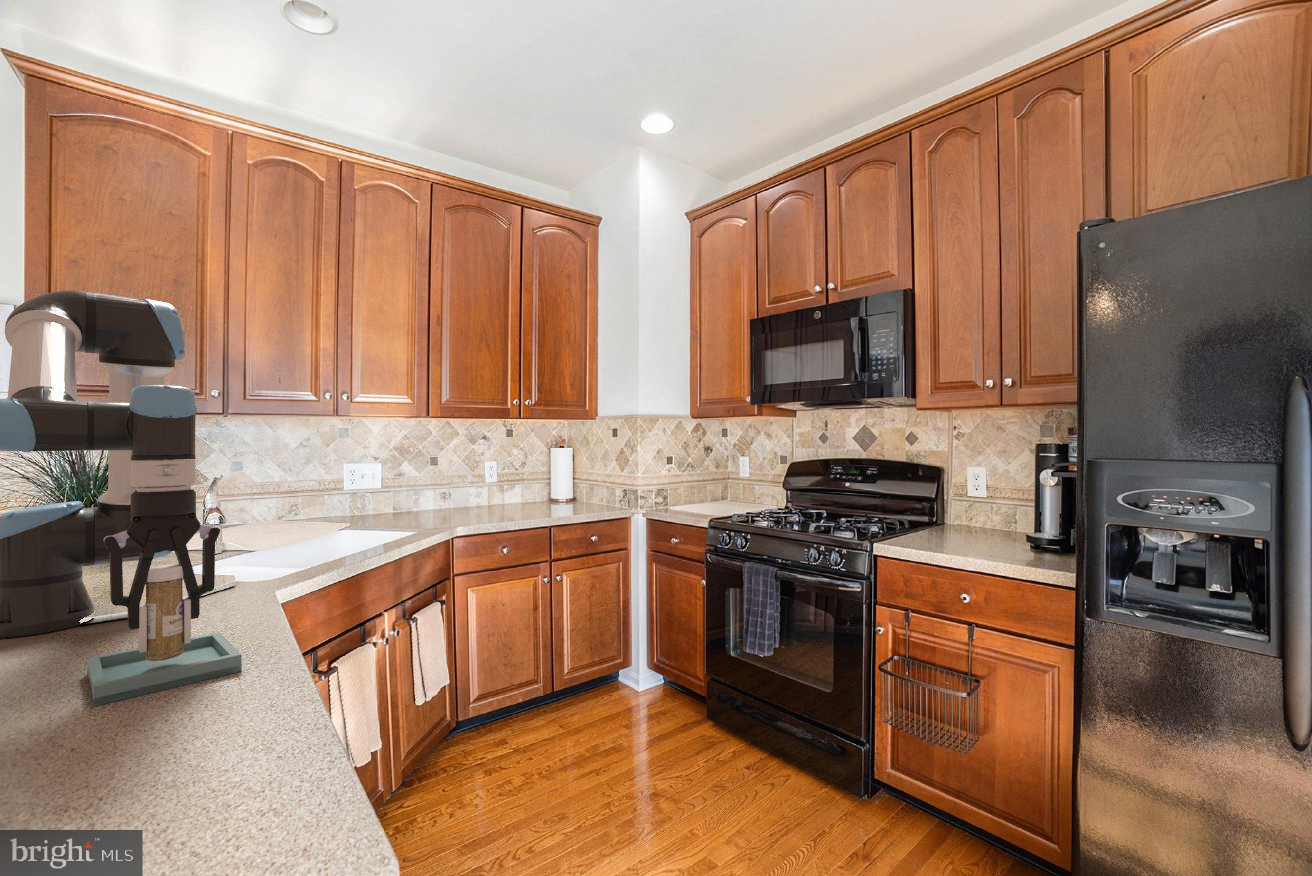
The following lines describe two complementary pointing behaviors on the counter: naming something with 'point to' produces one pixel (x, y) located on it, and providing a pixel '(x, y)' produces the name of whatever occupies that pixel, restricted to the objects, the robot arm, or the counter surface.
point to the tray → (160, 669)
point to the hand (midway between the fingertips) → (164, 645)
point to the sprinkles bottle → (164, 612)
